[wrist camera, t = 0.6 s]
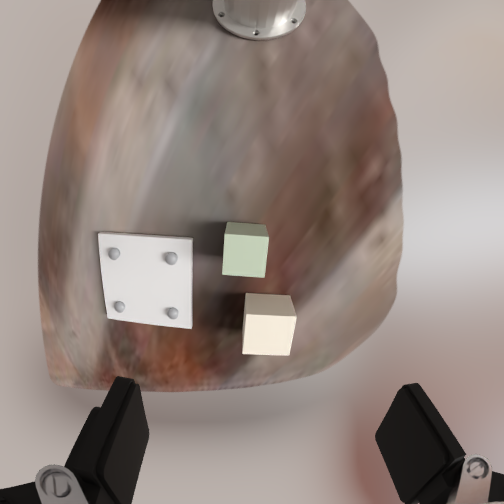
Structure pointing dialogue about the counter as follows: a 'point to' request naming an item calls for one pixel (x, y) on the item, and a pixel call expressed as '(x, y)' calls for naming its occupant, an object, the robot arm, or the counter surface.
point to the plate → (147, 278)
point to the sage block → (245, 249)
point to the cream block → (268, 324)
